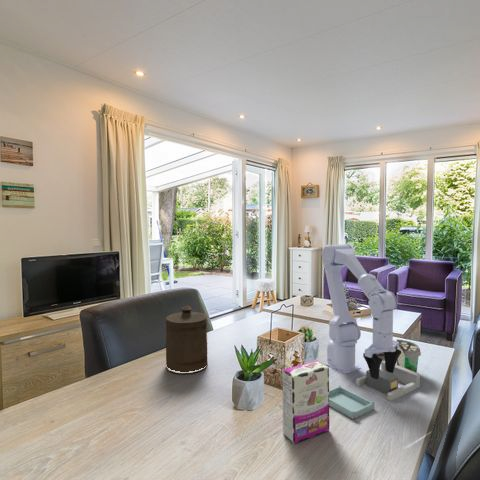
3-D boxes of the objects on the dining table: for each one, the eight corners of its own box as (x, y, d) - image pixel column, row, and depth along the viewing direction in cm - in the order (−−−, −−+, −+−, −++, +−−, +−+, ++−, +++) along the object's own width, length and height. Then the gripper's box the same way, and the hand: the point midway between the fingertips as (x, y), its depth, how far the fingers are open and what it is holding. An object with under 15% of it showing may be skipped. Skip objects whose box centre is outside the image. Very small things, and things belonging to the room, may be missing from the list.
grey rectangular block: (366, 384, 109) (366, 371, 109) (375, 381, 112) (375, 367, 111) (389, 395, 102) (389, 380, 102) (398, 391, 105) (398, 377, 105)
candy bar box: (316, 421, 90) (317, 359, 89) (330, 431, 86) (330, 366, 85) (281, 433, 85) (281, 368, 84) (293, 445, 81) (293, 376, 80)
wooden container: (212, 359, 131) (211, 302, 130) (200, 376, 117) (199, 312, 116) (175, 356, 134) (174, 300, 133) (159, 373, 119) (158, 310, 118)
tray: (319, 399, 101) (319, 393, 101) (339, 391, 105) (339, 385, 105) (353, 419, 91) (353, 412, 90) (374, 409, 95) (374, 403, 95)
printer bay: (355, 385, 110) (356, 371, 109) (384, 373, 118) (384, 360, 118) (390, 401, 99) (391, 386, 99) (419, 387, 108) (420, 373, 107)
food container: (425, 383, 110) (426, 353, 110) (404, 381, 112) (405, 351, 111) (414, 367, 122) (414, 339, 122) (395, 366, 124) (396, 338, 123)
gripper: (379, 339, 99) (379, 386, 99) (408, 330, 107) (407, 373, 107) (359, 333, 105) (358, 377, 105) (387, 325, 113) (387, 366, 113)
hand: (382, 374), depth 107 cm, fingers open, 7 cm apart
